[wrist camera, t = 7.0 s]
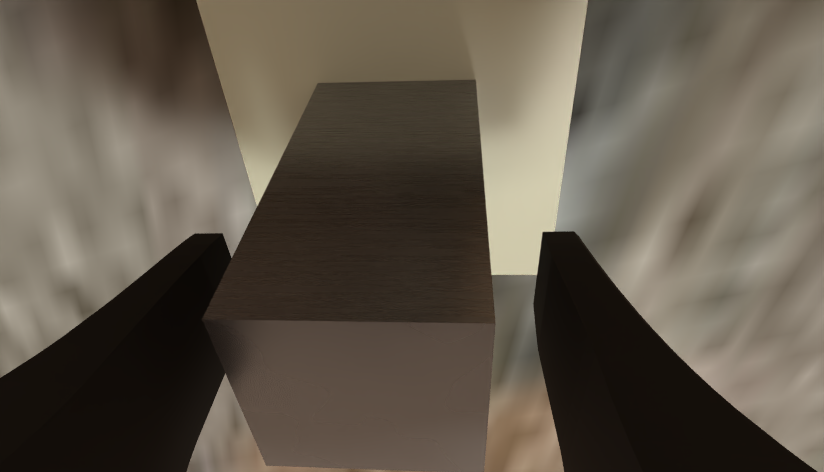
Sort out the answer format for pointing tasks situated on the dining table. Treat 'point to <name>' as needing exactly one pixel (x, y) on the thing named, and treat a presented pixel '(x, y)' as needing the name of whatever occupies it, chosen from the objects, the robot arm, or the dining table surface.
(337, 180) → the square peg
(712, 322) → the dining table surface
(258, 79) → the pad
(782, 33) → the dining table surface
